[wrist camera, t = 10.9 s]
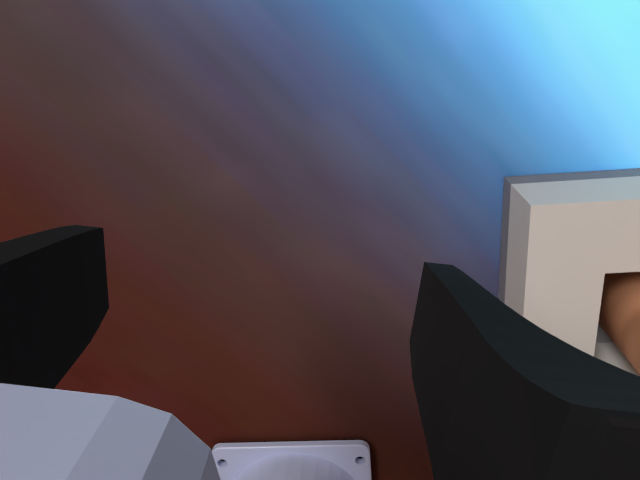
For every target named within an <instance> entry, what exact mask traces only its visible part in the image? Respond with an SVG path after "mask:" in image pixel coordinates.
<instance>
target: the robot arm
mask: <svg viewBox="0 0 640 480" xmlns="http://www.w3.org/2000/svg"><path fill="white" fill-rule="evenodd" d="M108 309H109V302H108V288H107V275H106V261H105V248H104V234H103V228H98V227H89V226H80V225H73V226H65V227H59V228H54V229H50V230H46V231H42V232H38V233H34V234H31V235H27V236H23V237H20V238H16V239H13V240H9V241H5V242H2V243H0V480H372V478H371V462H370V447H369V444H368V443H367V442H365V441H363V440H333V441H289V442H246V443H219V444H216V445H215V446H214V447H213V450H212V451H211V449H210V448H209V447H208V446H207V445H206V444H205V443H204V442H203V441H201V440H200V439H199V438H198V437H197V436H196V435H195V434H194V433H193V432H191V431H190V430H189V429H188V428H187V427H186V426H185V425H184V424H183V423H181V422H180V421H179V420H178V419H177V418H176V417H175V416H174V415H172V414H170V413H167V412H164V411H161V410H158V409H155V408H152V407H149V406H146V405H143V404H140V403H137V402H134V401H131V400H127V399H124V398H121V397H118V396H110V395H101V394H92V393H83V392H75V391H66V390H57V389H54V388H55V387H56V385H57V384H58V383H59V382H60V380H61V379H62V378H63V377H64V375H65V374H66V373H67V371H68V370H69V369H70V368H71V366H72V365H73V364H74V362H75V361H76V360H77V359H78V357H79V356H80V355H81V353H82V352H83V351H84V349H85V348H86V347H87V345H88V344H89V343H90V341H91V340H92V338H93V336H94V334H95V333H96V331H97V329H98V328H99V326H100V324H101V322H102V320H103V318H104V316H105V314H106V312H107V311H108ZM410 351H411V366H412V378H413V383H414V388H415V392H416V397H417V402H418V406H419V411H420V415H421V420H422V424H423V429H424V433H425V438H426V442H427V447H428V451H429V456H430V460H431V465H432V471H433V477H434V480H640V376H638V375H635V374H632V373H630V372H627V371H625V370H623V369H621V368H618V367H616V366H614V365H611V364H609V363H607V362H605V361H602V360H600V359H598V358H596V357H593V356H591V355H589V354H587V353H585V352H583V351H581V350H579V349H577V348H575V347H573V346H572V345H570V344H568V343H566V342H564V341H562V340H561V339H559V338H557V337H555V336H553V335H551V334H550V333H548V332H546V331H545V330H543V329H541V328H540V327H538V326H537V325H535V324H534V323H532V322H530V321H529V320H527V319H526V318H524V317H523V316H521V315H520V314H518V313H517V312H515V311H514V310H513V309H511V308H510V307H508V306H507V305H506V304H504V303H503V302H502V301H500V300H499V299H498V298H496V297H495V296H494V295H492V294H491V293H490V292H488V291H487V290H486V289H484V288H483V287H482V286H481V285H479V284H478V283H477V282H475V281H474V280H473V279H472V278H470V277H469V276H468V275H466V274H465V273H464V272H462V271H461V270H459V269H458V268H456V267H455V266H453V265H446V264H437V263H427V262H424V267H423V272H422V277H421V283H420V288H419V294H418V299H417V305H416V310H415V315H414V321H413V326H412V332H411V337H410ZM357 457H363V458H361V459H359V458H357ZM221 459H223V460H225V461H222V460H221Z"/></svg>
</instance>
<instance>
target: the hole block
mask: <svg viewBox="0 0 640 480" xmlns="http://www.w3.org/2000/svg"><path fill="white" fill-rule="evenodd" d="M624 272H640V168H636V169H620V170H605V171H589V172H573V173H558V174H542V175H527V176H511V177H504V189H503V209H502V230H501V250H500V271H499V292H498V299H499V300H500V301H502V302H503V303H504V304H506V305H507V306H508V307H510V308H511V309H513V310H514V311H515V312H517V313H518V314H520V315H521V316H523V317H524V318H526V319H527V320H529V321H530V322H532V323H534V324H535V325H537V326H538V327H540V328H541V329H543V330H545V331H546V332H548V333H550V334H551V335H553V336H555V337H557V338H559V339H561V340H562V341H564V342H566V343H568V344H570V345H572V346H573V347H575V348H577V349H579V350H581V351H583V352H585V353H587V354H589V355H591V356H593V357H596V358H598V359H600V360H602V361H605V362H607V363H609V364H611V365H614V366H616V367H618V368H621V369H623V370H625V371H627V372H630V373H632V374H635V375H638V376H640V375H639V373H638V372H637V371H636V370H635V368H634V367H633V366H632V365H631V363H630V362H629V361H628V360H627V358H626V357H625V356H624V355H623V354H622V352H621V351H620V350H619V349H618V347H617V346H616V345H615V344H614V342H613V341H612V340H611V339H610V337H609V336H608V335H607V334H606V332H605V331H604V330H603V329H602V328H601V326H600V325H599V324H598V321H599V314H600V306H601V299H602V291H603V284H604V276H605V273H624Z"/></svg>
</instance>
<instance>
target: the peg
mask: <svg viewBox="0 0 640 480" xmlns="http://www.w3.org/2000/svg"><path fill="white" fill-rule="evenodd" d="M598 324H599V325H600V326H601V328H602V329H603V330H604V331H605V332H606V334H607V335H608V336H609V337H610V339H611V340H612V341H613V342H614V344H615V345H616V346H617V347H618V349H619V350H620V351H621V352H622V354H623V355H624V356H625V357H626V358H627V360H628V361H629V362H630V363H631V365H632V366H633V367H634V368H635V370H636V371H637V372H638V373H639V375H640V272H624V273H605V276H604V284H603V291H602V299H601V306H600V314H599V321H598Z"/></svg>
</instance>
